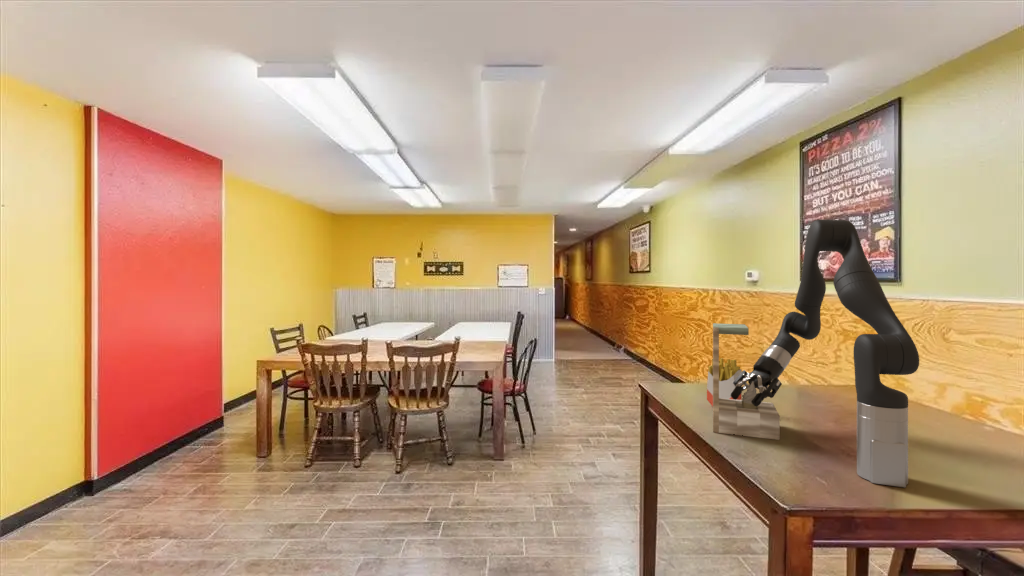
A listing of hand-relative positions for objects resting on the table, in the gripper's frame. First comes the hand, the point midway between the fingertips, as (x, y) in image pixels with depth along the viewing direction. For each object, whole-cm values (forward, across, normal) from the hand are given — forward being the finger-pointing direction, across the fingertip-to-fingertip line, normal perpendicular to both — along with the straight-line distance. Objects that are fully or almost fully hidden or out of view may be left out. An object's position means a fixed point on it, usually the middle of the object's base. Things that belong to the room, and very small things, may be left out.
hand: (743, 401), depth 142 cm
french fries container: (-2, -22, +14) cm, 26 cm away
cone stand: (+5, 0, +7) cm, 9 cm away
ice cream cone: (+5, 0, +7) cm, 9 cm away
